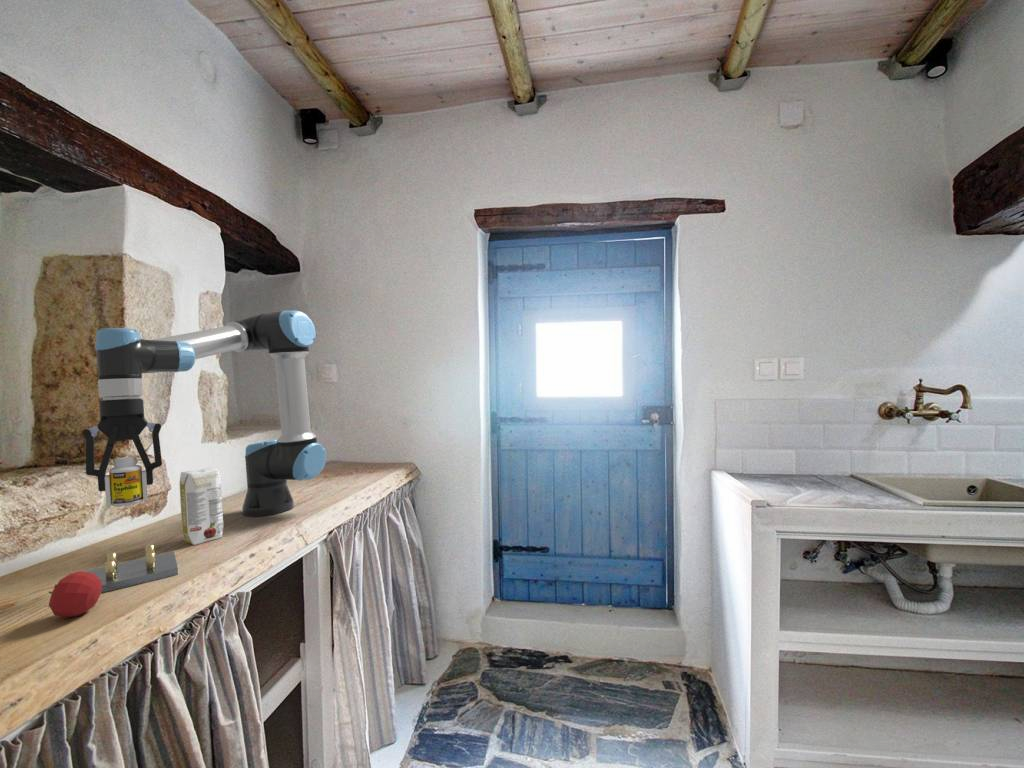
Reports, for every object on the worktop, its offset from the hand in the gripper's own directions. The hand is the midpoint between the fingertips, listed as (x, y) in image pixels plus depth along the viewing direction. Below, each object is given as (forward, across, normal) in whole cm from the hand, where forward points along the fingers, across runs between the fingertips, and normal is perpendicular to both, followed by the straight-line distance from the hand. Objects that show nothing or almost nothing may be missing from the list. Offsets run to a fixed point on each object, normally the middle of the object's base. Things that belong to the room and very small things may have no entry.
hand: (127, 502), depth 104 cm
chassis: (+16, 0, 0) cm, 16 cm away
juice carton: (+17, -15, -18) cm, 29 cm away
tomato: (+17, +8, +16) cm, 24 cm away
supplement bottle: (+1, 0, 0) cm, 1 cm away
